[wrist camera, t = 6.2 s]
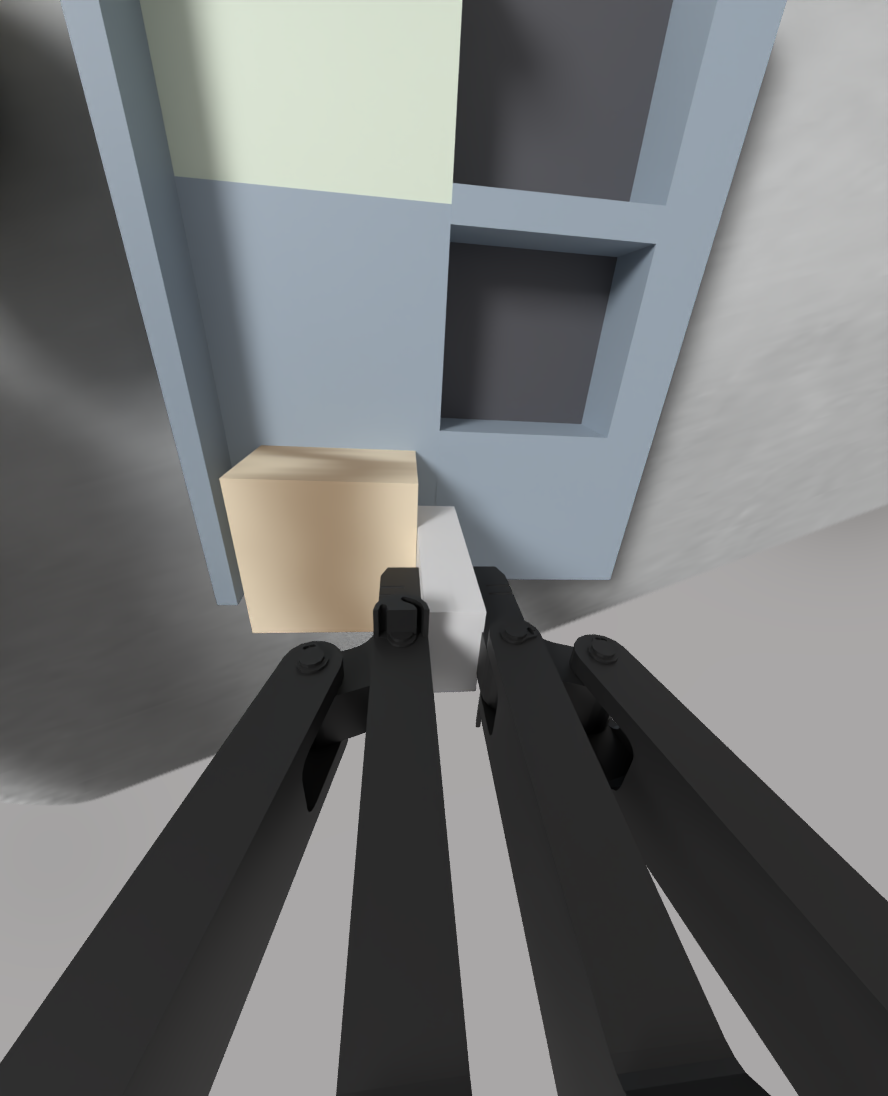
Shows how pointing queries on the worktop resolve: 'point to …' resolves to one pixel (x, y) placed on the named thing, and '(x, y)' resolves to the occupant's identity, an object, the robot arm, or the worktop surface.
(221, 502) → the tray
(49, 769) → the worktop surface
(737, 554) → the worktop surface
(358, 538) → the block
